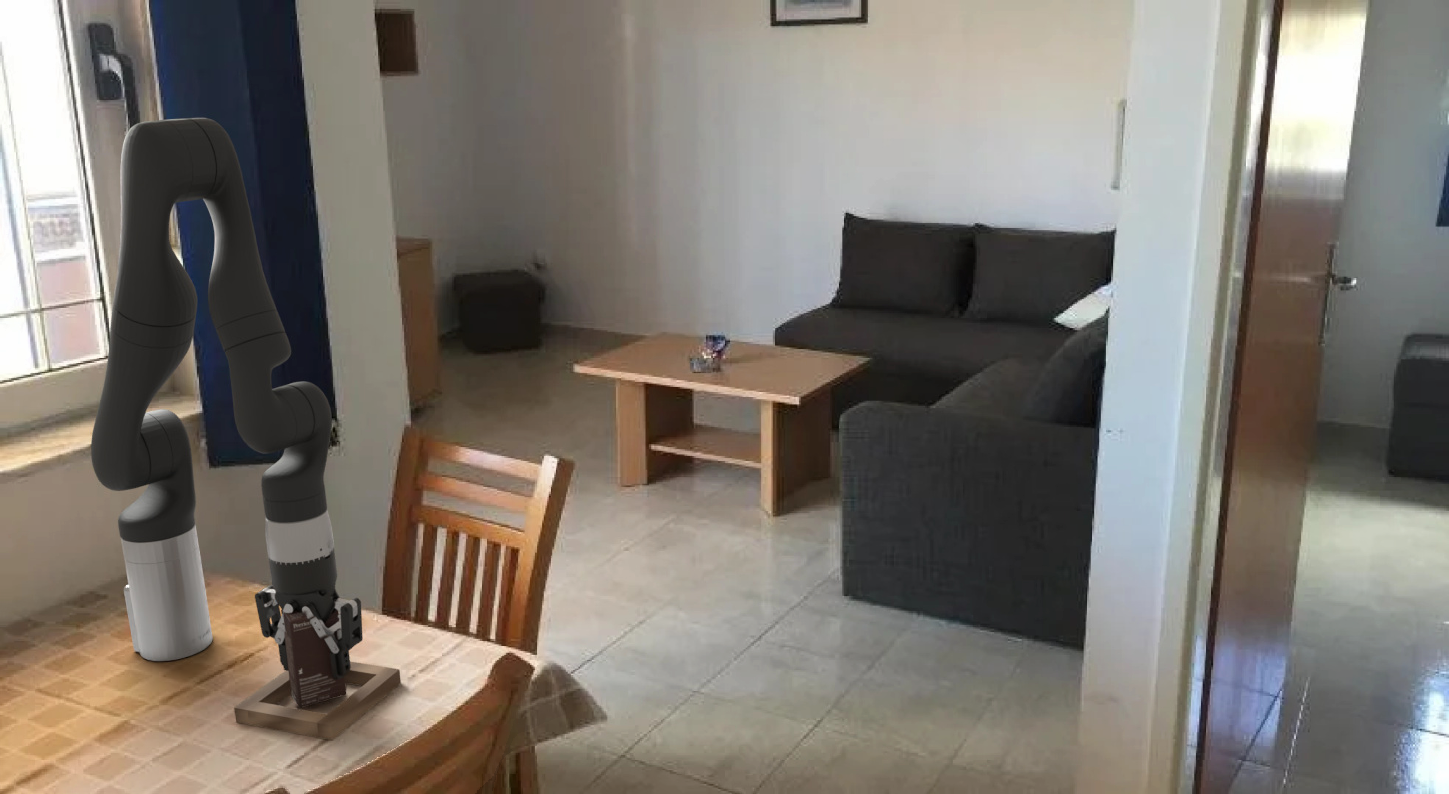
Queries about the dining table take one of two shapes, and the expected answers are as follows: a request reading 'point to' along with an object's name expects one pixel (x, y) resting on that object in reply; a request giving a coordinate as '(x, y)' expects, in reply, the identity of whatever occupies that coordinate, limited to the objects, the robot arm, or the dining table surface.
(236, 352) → the robot arm
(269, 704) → the socket
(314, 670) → the box
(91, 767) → the dining table surface
